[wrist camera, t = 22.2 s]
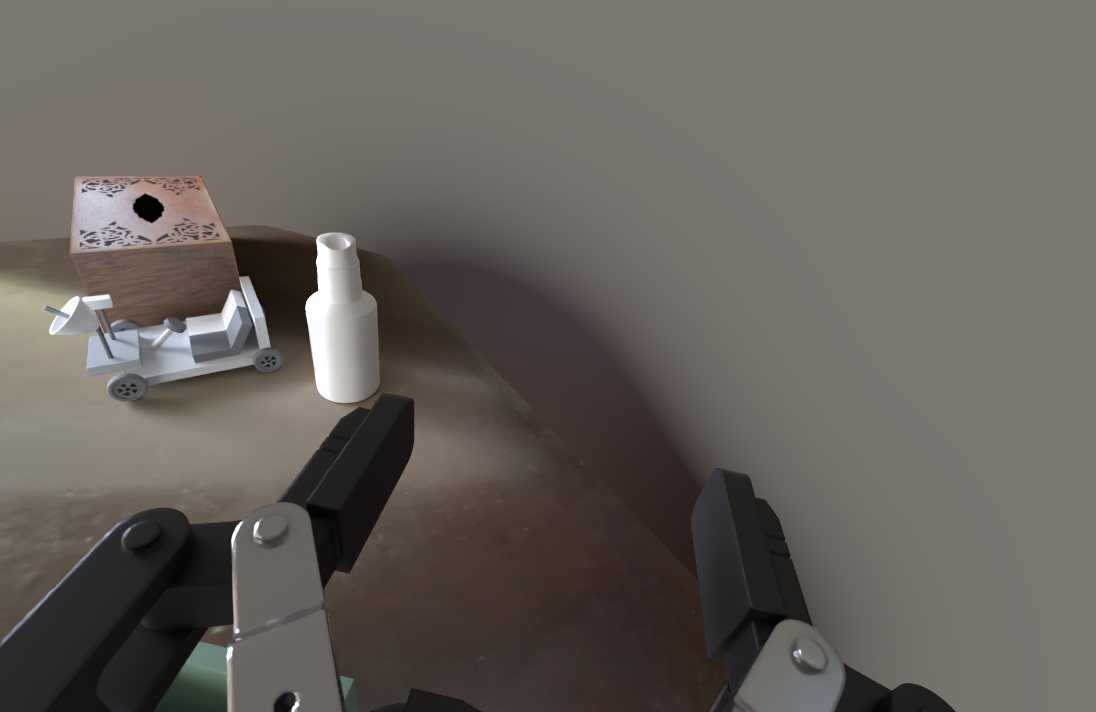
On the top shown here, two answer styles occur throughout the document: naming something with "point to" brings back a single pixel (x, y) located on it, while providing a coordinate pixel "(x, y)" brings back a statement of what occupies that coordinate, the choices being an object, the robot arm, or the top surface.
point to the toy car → (170, 342)
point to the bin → (216, 684)
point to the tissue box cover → (152, 247)
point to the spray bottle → (342, 324)
